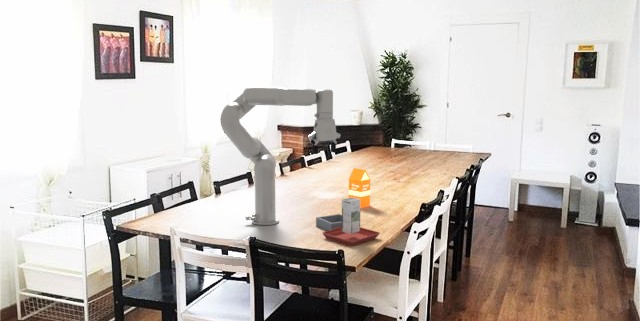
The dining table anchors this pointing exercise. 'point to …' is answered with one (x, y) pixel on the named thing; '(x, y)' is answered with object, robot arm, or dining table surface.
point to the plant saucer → (351, 236)
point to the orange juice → (360, 186)
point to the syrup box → (351, 215)
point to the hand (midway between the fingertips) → (324, 152)
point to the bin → (329, 222)
